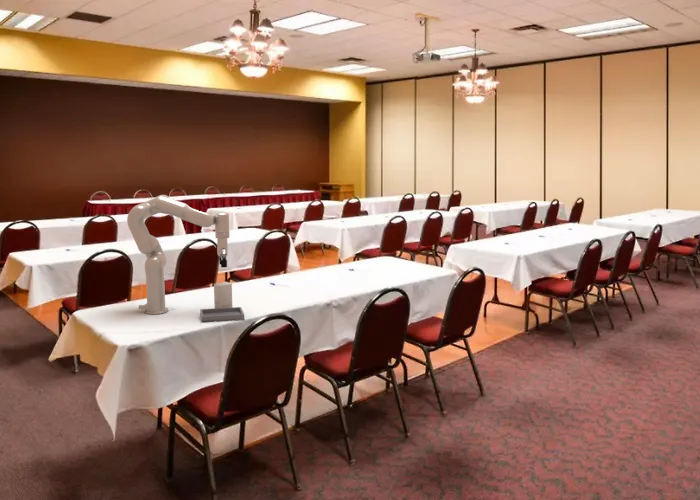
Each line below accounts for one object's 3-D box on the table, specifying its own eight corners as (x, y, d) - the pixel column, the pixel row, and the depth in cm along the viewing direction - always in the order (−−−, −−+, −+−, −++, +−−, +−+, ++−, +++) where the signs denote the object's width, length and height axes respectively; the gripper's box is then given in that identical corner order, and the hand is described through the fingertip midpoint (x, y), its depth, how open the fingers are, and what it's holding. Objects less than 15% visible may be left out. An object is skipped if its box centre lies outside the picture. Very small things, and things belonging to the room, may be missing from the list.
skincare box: (226, 308, 349) (226, 281, 347) (233, 310, 345) (232, 283, 342) (213, 310, 344) (213, 283, 341) (220, 313, 339) (219, 285, 336)
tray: (201, 322, 320) (201, 316, 319) (200, 314, 335) (200, 309, 334) (244, 319, 326) (244, 314, 325) (241, 312, 341) (240, 306, 340)
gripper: (214, 233, 345) (215, 263, 347) (216, 237, 328) (217, 268, 331) (227, 232, 347) (228, 262, 349) (230, 236, 330) (231, 268, 333)
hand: (223, 265), depth 340 cm, fingers open, 9 cm apart
